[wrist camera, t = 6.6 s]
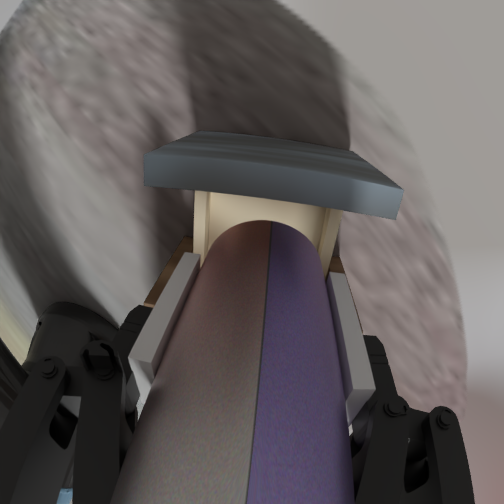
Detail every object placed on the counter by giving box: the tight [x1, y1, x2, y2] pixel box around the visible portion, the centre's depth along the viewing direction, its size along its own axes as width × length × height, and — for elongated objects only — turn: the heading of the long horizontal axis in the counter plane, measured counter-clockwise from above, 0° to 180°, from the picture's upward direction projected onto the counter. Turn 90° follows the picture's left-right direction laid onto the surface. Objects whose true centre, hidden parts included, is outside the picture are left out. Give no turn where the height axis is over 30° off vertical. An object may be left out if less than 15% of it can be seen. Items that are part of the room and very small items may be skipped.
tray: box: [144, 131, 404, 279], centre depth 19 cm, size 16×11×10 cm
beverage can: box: [110, 220, 355, 504], centre depth 9 cm, size 6×6×15 cm
